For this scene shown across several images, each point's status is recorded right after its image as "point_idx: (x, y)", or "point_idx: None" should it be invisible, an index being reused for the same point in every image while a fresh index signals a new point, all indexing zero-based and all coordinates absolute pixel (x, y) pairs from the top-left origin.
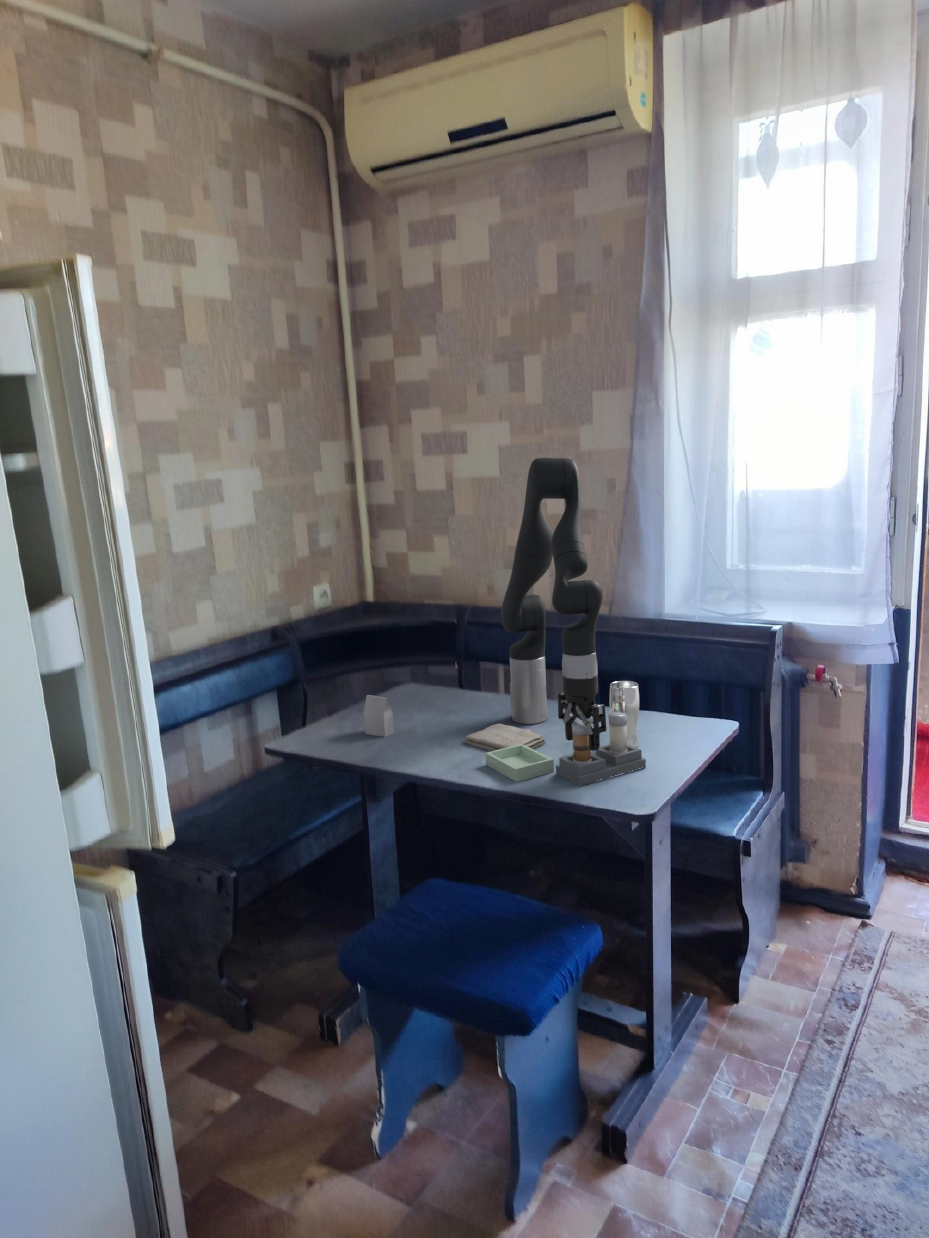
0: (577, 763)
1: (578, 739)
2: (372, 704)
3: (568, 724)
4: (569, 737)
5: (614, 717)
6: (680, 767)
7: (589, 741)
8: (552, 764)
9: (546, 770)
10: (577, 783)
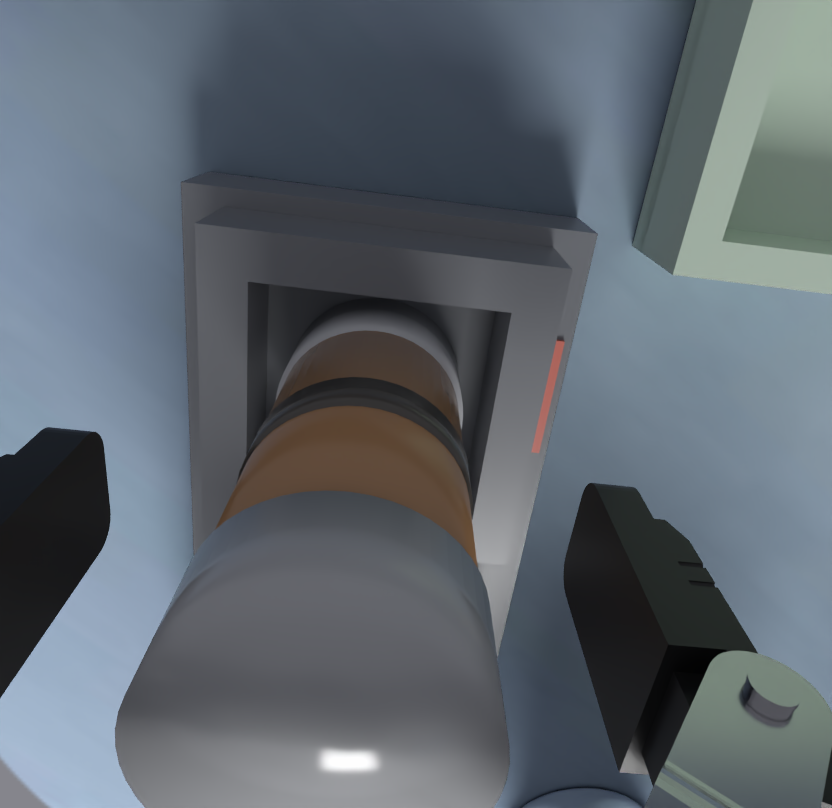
0: (343, 322)
1: (270, 468)
2: None
3: (667, 674)
4: (593, 522)
5: None
6: (106, 797)
7: (12, 490)
8: (658, 246)
9: (663, 162)
10: (245, 178)
